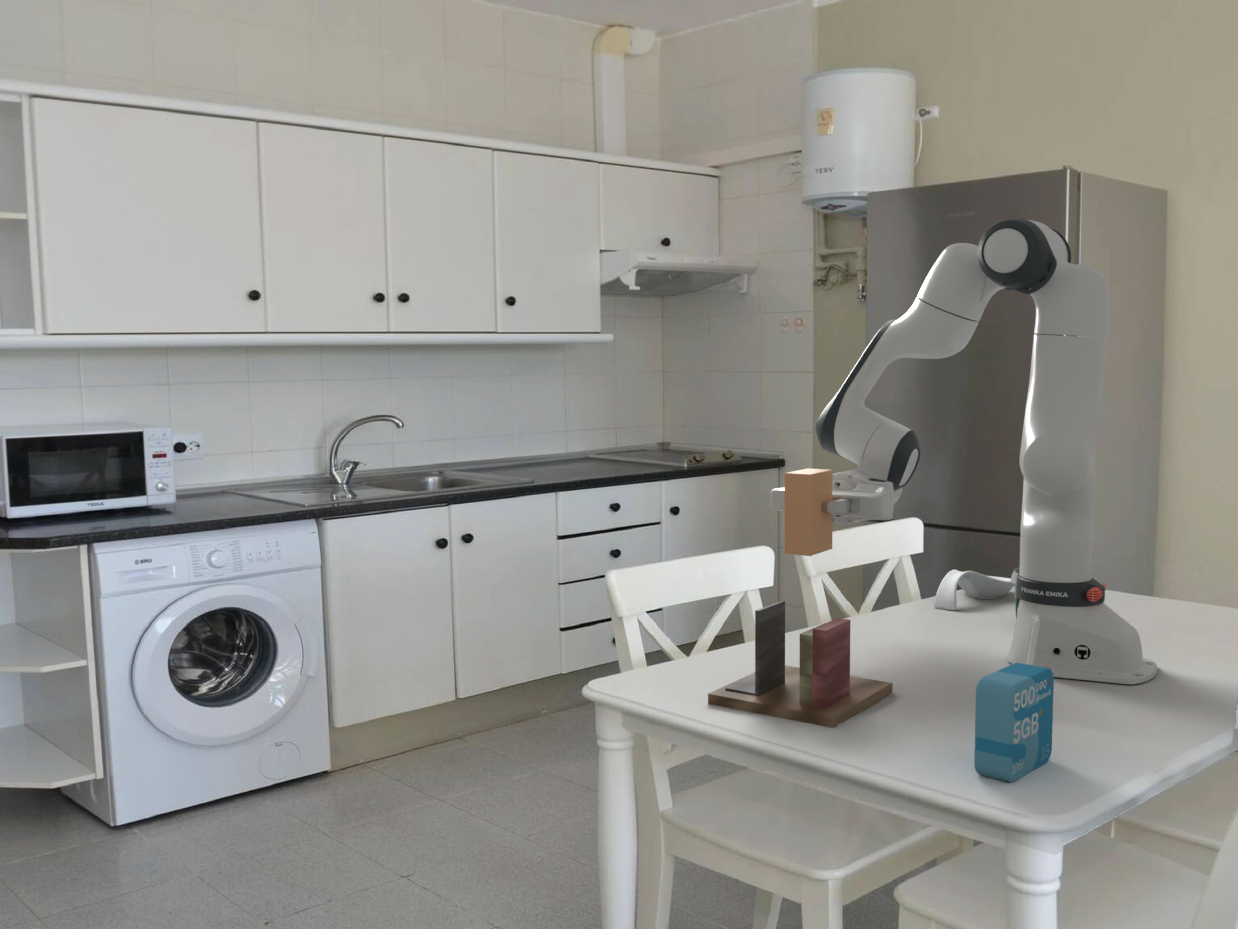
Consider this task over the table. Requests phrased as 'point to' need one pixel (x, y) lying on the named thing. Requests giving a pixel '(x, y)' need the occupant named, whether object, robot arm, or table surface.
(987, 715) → the data package
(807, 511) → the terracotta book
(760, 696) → the wooden bookend stand
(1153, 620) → the table surface
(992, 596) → the spoon rest
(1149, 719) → the table surface
